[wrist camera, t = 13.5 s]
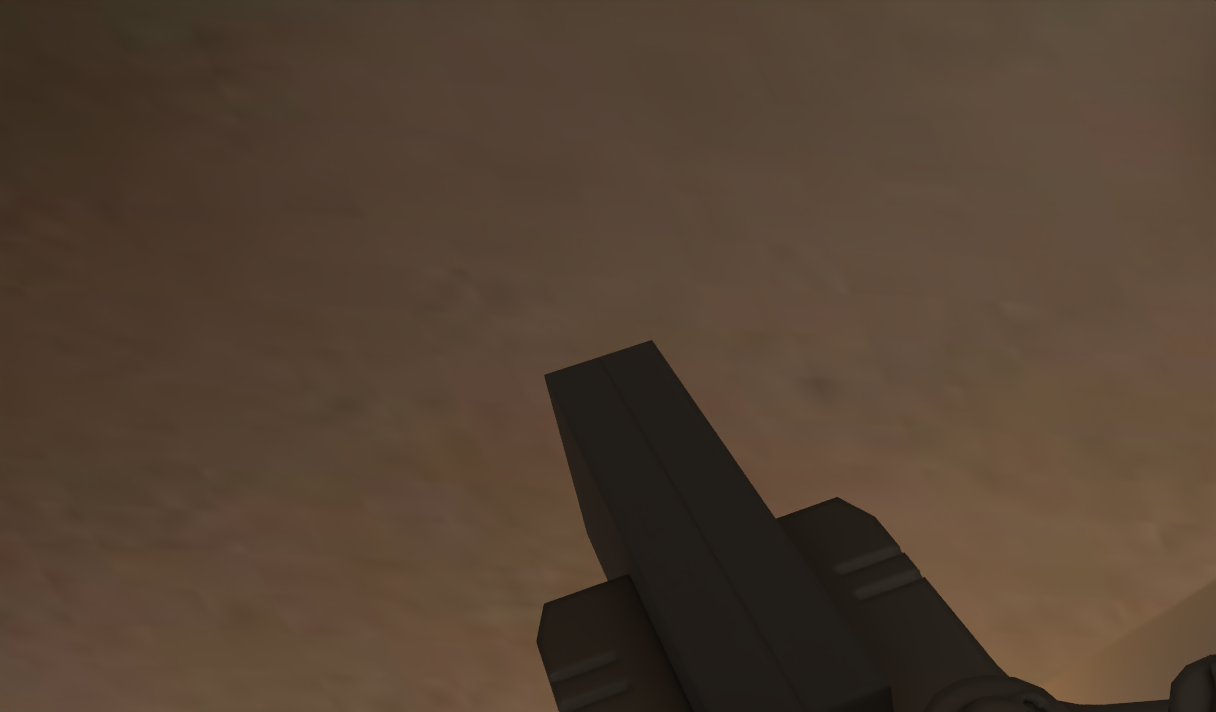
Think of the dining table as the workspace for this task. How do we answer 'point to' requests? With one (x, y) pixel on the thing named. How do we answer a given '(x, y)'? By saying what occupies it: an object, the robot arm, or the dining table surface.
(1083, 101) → the dining table surface
